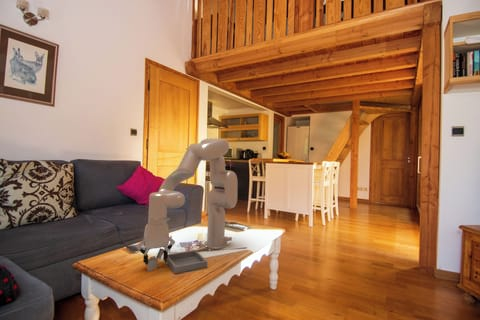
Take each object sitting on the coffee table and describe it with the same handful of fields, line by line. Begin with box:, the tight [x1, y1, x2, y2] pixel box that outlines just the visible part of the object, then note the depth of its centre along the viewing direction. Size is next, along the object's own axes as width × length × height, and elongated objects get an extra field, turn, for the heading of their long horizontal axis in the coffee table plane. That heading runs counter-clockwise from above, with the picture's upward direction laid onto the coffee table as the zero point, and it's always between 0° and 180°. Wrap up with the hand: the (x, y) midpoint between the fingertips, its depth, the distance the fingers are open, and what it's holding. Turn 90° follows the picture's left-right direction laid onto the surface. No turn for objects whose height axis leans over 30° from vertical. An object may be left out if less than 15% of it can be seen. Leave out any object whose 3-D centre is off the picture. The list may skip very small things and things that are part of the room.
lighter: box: [146, 247, 164, 272], centre depth 109 cm, size 7×2×8 cm, turn 136°
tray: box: [165, 249, 208, 275], centre depth 114 cm, size 15×15×3 cm
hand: (155, 261), depth 109 cm, fingers closed on lighter, 7 cm apart
